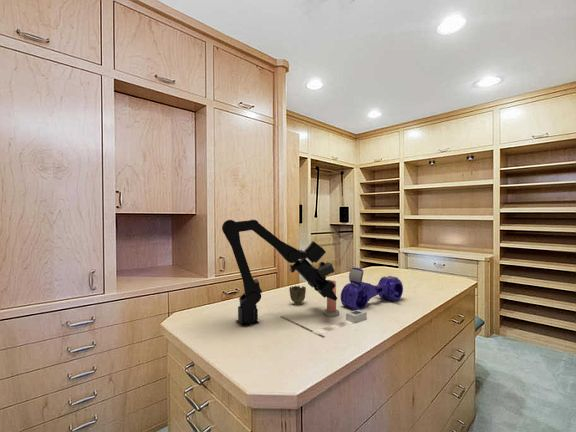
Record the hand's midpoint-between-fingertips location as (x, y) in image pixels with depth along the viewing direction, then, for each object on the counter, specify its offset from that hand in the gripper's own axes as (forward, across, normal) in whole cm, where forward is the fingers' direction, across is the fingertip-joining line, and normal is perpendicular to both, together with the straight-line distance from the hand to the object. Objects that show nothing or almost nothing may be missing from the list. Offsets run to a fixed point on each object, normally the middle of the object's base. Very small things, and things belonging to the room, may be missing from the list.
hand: (334, 298), depth 115 cm
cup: (-3, +16, +13) cm, 21 cm away
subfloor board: (+1, -4, +9) cm, 10 cm away
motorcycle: (+21, +11, -11) cm, 26 cm away
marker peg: (+4, 0, +5) cm, 6 cm away
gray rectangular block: (+8, -8, 0) cm, 11 cm away
